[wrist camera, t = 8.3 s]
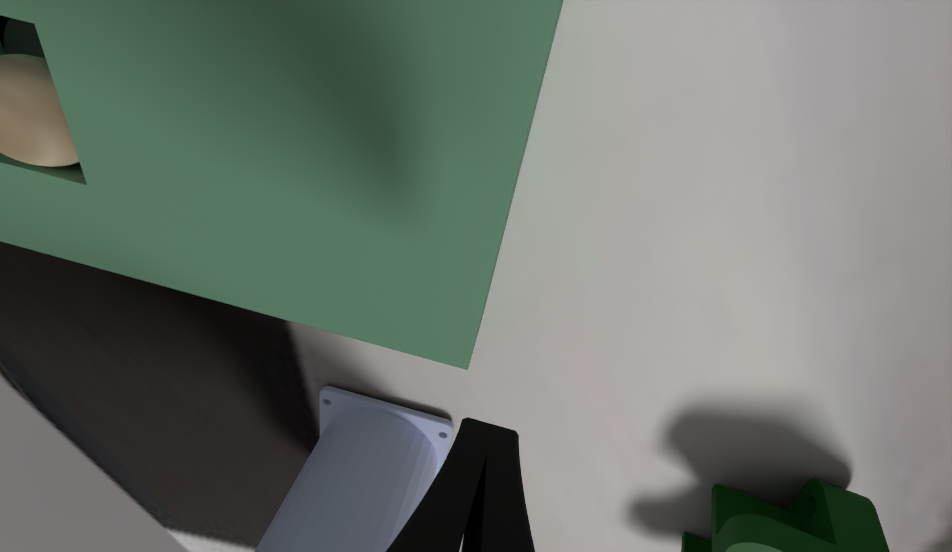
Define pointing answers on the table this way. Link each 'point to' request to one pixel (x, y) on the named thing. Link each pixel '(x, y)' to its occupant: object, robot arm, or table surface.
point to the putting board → (288, 153)
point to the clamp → (792, 523)
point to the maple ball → (32, 114)
